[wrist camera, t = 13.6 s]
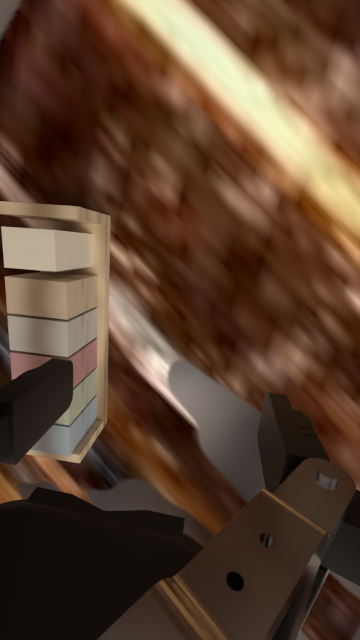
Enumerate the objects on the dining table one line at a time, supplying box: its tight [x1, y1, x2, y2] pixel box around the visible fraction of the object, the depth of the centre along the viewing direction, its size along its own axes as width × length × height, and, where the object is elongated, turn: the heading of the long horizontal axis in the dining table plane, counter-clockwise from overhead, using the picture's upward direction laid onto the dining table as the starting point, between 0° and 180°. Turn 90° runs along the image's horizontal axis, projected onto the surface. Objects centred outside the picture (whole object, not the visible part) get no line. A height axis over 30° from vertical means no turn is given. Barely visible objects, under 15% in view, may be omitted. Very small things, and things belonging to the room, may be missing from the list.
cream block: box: [1, 227, 93, 272], centre depth 34 cm, size 4×6×9 cm
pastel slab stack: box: [0, 201, 110, 463], centre depth 38 cm, size 9×30×10 cm, turn 176°
